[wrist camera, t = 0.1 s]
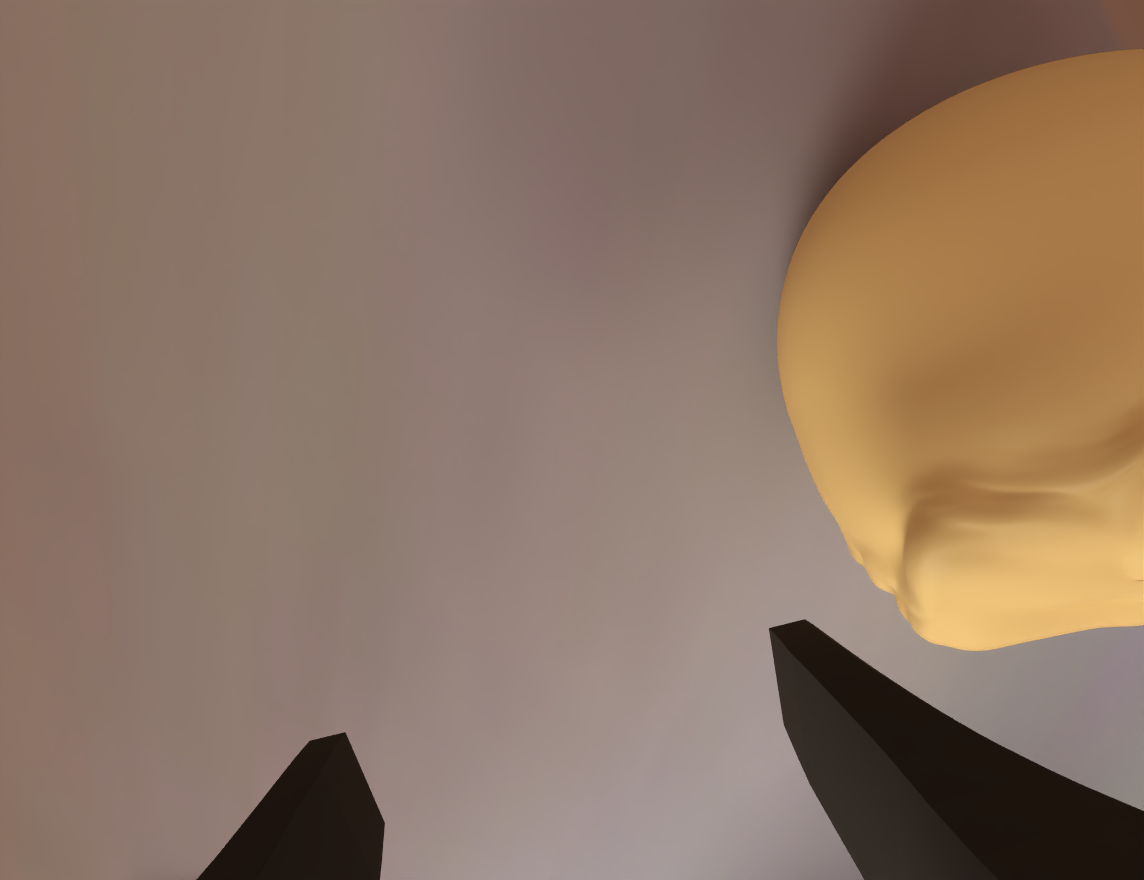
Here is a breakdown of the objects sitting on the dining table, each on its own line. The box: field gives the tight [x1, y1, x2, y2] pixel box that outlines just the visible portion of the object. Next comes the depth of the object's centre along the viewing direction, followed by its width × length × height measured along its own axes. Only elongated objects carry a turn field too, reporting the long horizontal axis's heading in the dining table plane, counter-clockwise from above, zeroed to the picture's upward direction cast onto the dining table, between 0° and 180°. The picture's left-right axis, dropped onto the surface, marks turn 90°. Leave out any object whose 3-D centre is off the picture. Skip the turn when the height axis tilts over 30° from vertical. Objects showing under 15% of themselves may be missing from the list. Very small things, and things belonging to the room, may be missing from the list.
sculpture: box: [777, 49, 1144, 651], centre depth 15 cm, size 11×12×11 cm
